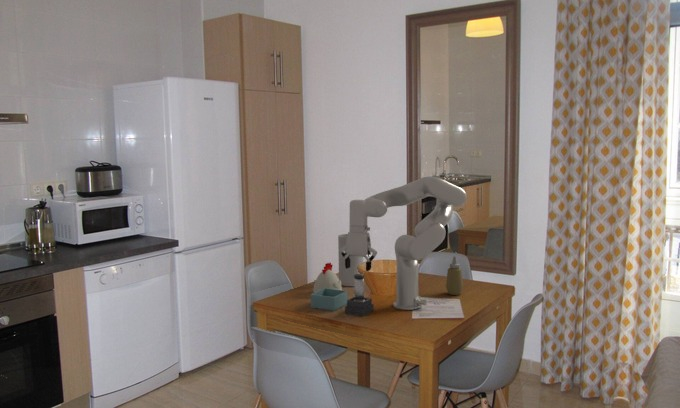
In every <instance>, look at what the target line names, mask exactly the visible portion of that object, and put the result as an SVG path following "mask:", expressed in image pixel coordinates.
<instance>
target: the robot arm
mask: <svg viewBox="0 0 680 408" xmlns="http://www.w3.org/2000/svg"><path fill="white" fill-rule="evenodd" d="M427 197H432V198H435V199H436V204H435V207H434V209H433V210H432V211H431V212H430V213H429V214H428V215H426V216H425V217H424V218H423V219H422V220H421V221H419V222H418V223H417V224H416V226H415V227H414V230H413V231H414V235H415V236H414V235H411V234H402V235H400V236H399V237H397V238H396V240H395V242H394V255H395V260H396V300H395V301H394V302H393V303H392V306H393V307H394V308H395V309H398V310H405V311H413V310H414V309H415V310H418V309H417V308H419V309H421V308H422V306H427V305H428V301H427V299H422V298H421V295H419V268H420V267H419V261H421V260H423V259H425V258H426V257H427V256H429V255H430V254H431V253H432V252H433V251H434V250H435V249H436V248H438V247H439V246H440V245H441V244H442V243H443V241H444V240H445V238H446V233H447V232H446V227H445V226H447V224H448V223H449V222H450V221H451V219H452V217H453V210H454V209H453V208H460V207H462V206H464V205H465V204H466V202H467V198H468V197H467V193H466V191H465V190H464V189H463V188H461V187H459V186H458V185H455V184H453V183H451V182H449V181H447V180H444V179H442V178H440V177H436V176H422V177H420V178H419V179H416V180H414V181H411V182H409V183H406V184H404V185H401V186H398V187H395V188H394V187H393V188H390V189H387V190H384V191H381V192H379V193H376V194H374V195H370V196H369V197H367V198H365V199H353V200H350V202H349V225H348V226H349V230H348V232H347V234H348V235H347V242H346V245H345V246H343V247H341V248H340V251H341V254H342V256H343V257H344V259H345V266H346V269H347V268H350V258H349V257H350V256H359V257H363V258H365V260H366V262H365V271H366V272H369V271H372V261H374V260H375V258H376V256H377V254H378V250H376V249H374V248H373V247H372V242H371V235H370V232H369V231H371V227H369V226H368V218H381V217H383V216H385V215H386V214H387V213H388V208H393V207H405V206H408V205H412V204H413V203H416V202H418V201H420V200H422V199H425V198H427ZM344 249H346V253H347V254H346V253H345V251H344ZM420 307H421V308H420Z"/></svg>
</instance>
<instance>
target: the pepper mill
mask: <svg viewBox="0 0 680 408" xmlns="http://www.w3.org/2000/svg"><path fill="white" fill-rule="evenodd" d="M354 278H355V286H354V297H355V299H354V301H358V302H364V301H365V299H364V297H365V274H364V273H363V274H355V275H354Z"/></svg>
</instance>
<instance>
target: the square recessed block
mask: <svg viewBox="0 0 680 408" xmlns="http://www.w3.org/2000/svg"><path fill="white" fill-rule="evenodd" d="M354 299H355V296H353V297H351V298H349V299H348V300H347V305H345V306H344V310H345V311H344V313H345V314H347V315H354V316H355V315H356V316H361V317H365V316H367V315H369V314H370V313H372V312H373V311H375V310H374V309H375V307H374V305H375V304H374V303H373V301H372V300H373V299H372V298H371V297H366V296H364V299H365V301H364V302H358V301H354Z"/></svg>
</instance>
